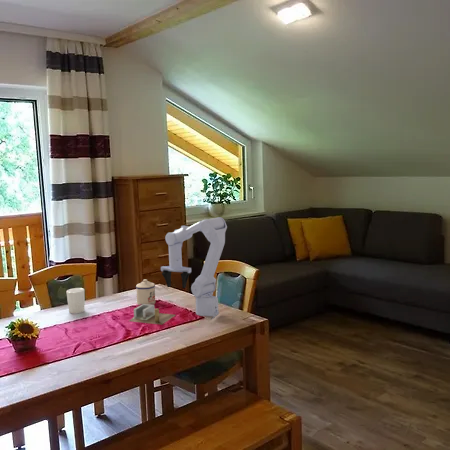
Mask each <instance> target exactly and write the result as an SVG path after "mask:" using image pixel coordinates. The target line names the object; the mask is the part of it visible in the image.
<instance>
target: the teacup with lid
mask: <svg viewBox="0 0 450 450" xmlns="http://www.w3.org/2000/svg"><path fill="white" fill-rule="evenodd" d="M135 289H136V304H137V305H138V306H140V305H142V304H151V305H155V304H156V284H155V283H154V282H151V281H148V279H143V280H142V281H141V282H140V283H137V284H136V286H135Z"/></svg>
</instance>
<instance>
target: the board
mask: <svg viewBox="0 0 450 450" xmlns="http://www.w3.org/2000/svg"><path fill="white" fill-rule="evenodd" d="M174 317H176V314H171V313H161V312H160V308H155V314H153V315H152V316H150V317H149V318H147V319H143V315H141V316H140V317H138V318H134V317H132V318H131V319H129V320H128V322H133V323H134V322H135V323H143V324H153V325H164V324H166V323H167V322H168V321H170V320H171V319H173V318H174Z"/></svg>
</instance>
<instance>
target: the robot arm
mask: <svg viewBox="0 0 450 450" xmlns="http://www.w3.org/2000/svg"><path fill="white" fill-rule="evenodd" d="M227 229H228V226H227V223H226V220H225V219H224V218H223V217H221V216H218V217H213V218H205V219H204V218H203V220H199V221H198V222H196V223H194V224H192V225H190V226H188V225H181V226H180V228H178V229H174V231H172V232H167V233H166V235H165V238H164V239H165V242H166V244H167V245H168V261H169V263H168V264H169V265H167V266H166V265H165V266H164V265H163V266H160V271H161V276H163V278H164V280H165V283H166V285H167V288H170V287H172V272H175V273H180V277H181V284H182V286H181V287H182V289H185V288H187V283H188V280H189V277H190V275H191V273H192V267H187V266H183V259H182V258H183V257H182V248H183V243H184V241H187V240H189V239H191V238H192V237H193V234H196V233H198V232H201V233H202V234H203V235H204V236H205V238H206V240H207V241H208V242H209V243H210V245H209V248H208V250H207V255H206V256H205V260H204V263H203V266H202V268H201V269H202V270H201V272H200V275H198V276H197V277H196V278H195V280H194V282H193V283H191V285H190V286H191V287H190V291H191V293H192V295H193V296H194V297H195V314H196V315H197V316H200V317H211V318H210V319H211V320H213V319H214V318H215V317H217V316H218V315H219V314H220V311H219V298H218V296H216V295H215V296H214V292H215V291H216V286H217V285H216V284H217V283H216V282H217V279H216V277H215V273H216V270H217V267H218V264H219V262H220V258H221V256H222V253H223V249H224V246H225V244H226V231H227Z"/></svg>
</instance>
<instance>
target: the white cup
mask: <svg viewBox="0 0 450 450" xmlns="http://www.w3.org/2000/svg"><path fill="white" fill-rule="evenodd" d="M66 299H67V305H68V312H69V313H70V314H80V313H81V314H82V313H84V311H85V309H86V307H85V304H86V303H85V288H82V287H75V288H70V289H67V290H66Z"/></svg>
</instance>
